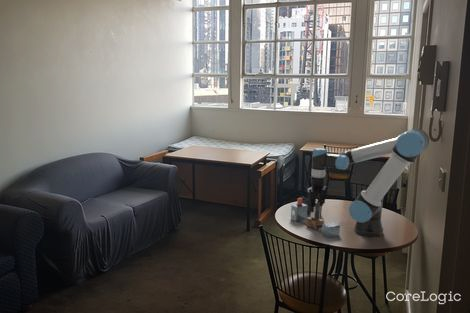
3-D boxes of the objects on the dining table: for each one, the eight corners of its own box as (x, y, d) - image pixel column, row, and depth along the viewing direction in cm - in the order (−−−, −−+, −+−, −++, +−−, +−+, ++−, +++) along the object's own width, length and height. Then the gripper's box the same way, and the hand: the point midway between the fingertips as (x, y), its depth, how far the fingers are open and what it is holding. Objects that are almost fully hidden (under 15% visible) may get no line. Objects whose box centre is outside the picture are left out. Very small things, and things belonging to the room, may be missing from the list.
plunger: (302, 206, 240) (303, 199, 239) (299, 206, 238) (299, 199, 238) (299, 204, 242) (300, 197, 241) (296, 205, 241) (296, 198, 240)
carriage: (323, 228, 228) (325, 203, 225) (315, 230, 225) (317, 204, 222) (313, 223, 235) (315, 199, 232) (305, 225, 232) (307, 200, 229)
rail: (339, 235, 219) (340, 219, 217) (327, 238, 215) (328, 222, 213) (301, 217, 246) (302, 203, 244) (290, 219, 242) (291, 205, 240)
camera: (325, 212, 256) (327, 197, 255) (319, 217, 248) (320, 201, 246) (304, 208, 264) (305, 193, 262) (297, 212, 255) (298, 197, 253)
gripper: (324, 173, 231) (321, 212, 236) (302, 176, 223) (299, 216, 228) (333, 176, 225) (330, 216, 230) (311, 179, 217) (308, 221, 221)
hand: (315, 216), depth 229 cm, fingers closed on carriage, 3 cm apart
